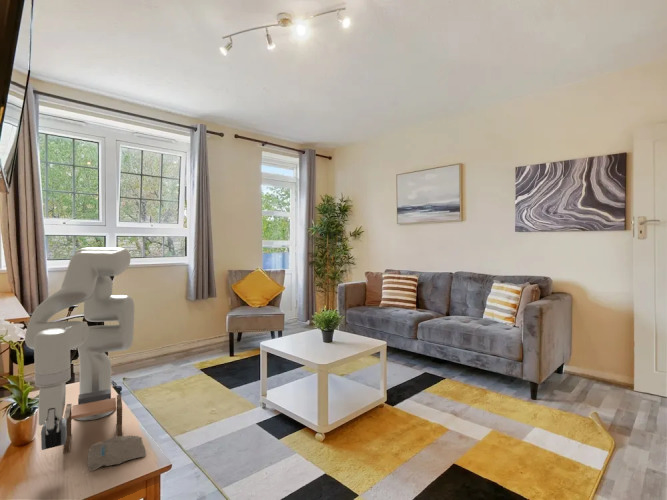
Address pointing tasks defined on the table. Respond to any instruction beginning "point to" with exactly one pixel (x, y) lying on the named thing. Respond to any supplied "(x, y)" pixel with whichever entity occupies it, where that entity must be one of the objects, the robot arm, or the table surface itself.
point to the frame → (68, 416)
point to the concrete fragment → (115, 451)
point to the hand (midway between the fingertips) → (54, 440)
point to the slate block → (63, 433)
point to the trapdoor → (93, 404)
